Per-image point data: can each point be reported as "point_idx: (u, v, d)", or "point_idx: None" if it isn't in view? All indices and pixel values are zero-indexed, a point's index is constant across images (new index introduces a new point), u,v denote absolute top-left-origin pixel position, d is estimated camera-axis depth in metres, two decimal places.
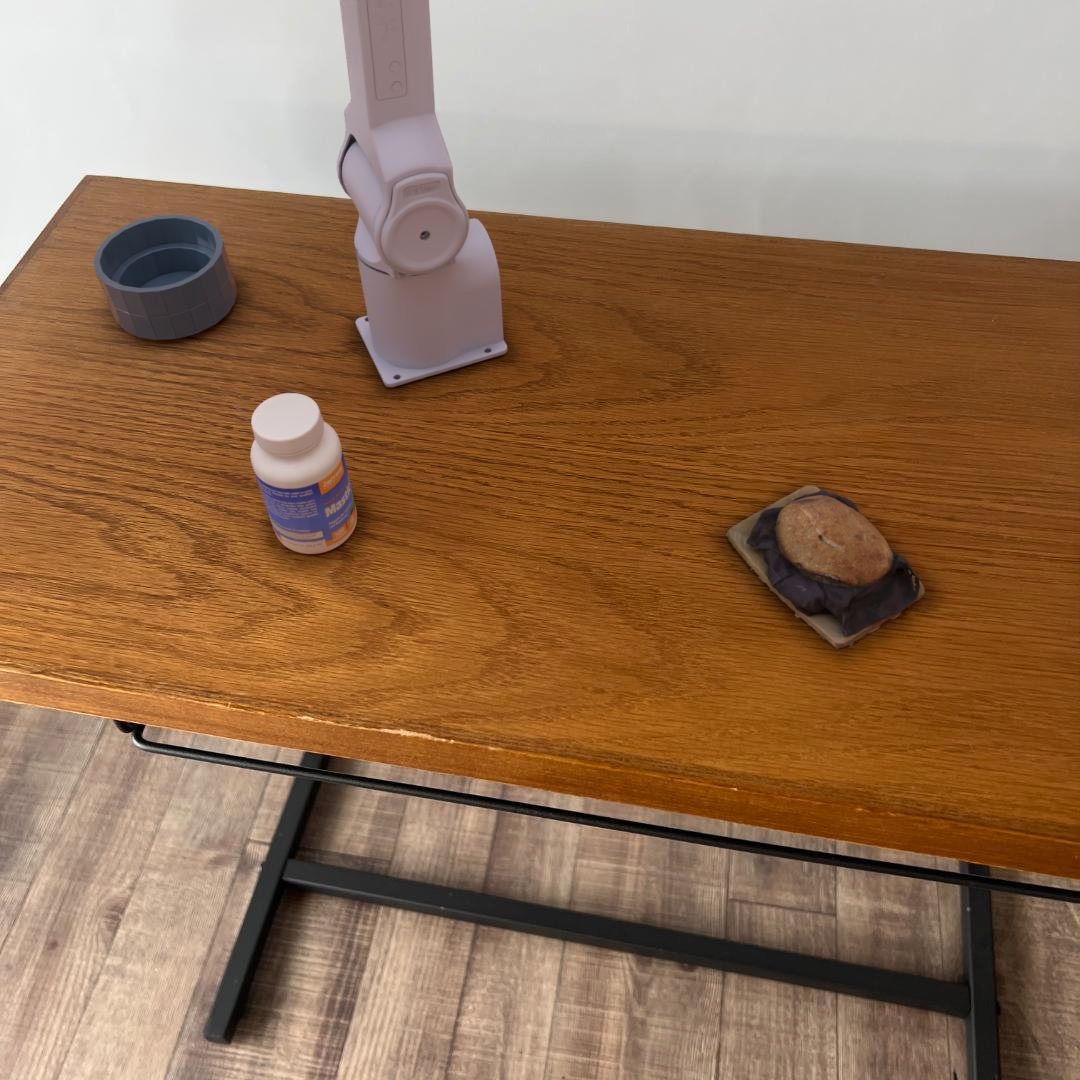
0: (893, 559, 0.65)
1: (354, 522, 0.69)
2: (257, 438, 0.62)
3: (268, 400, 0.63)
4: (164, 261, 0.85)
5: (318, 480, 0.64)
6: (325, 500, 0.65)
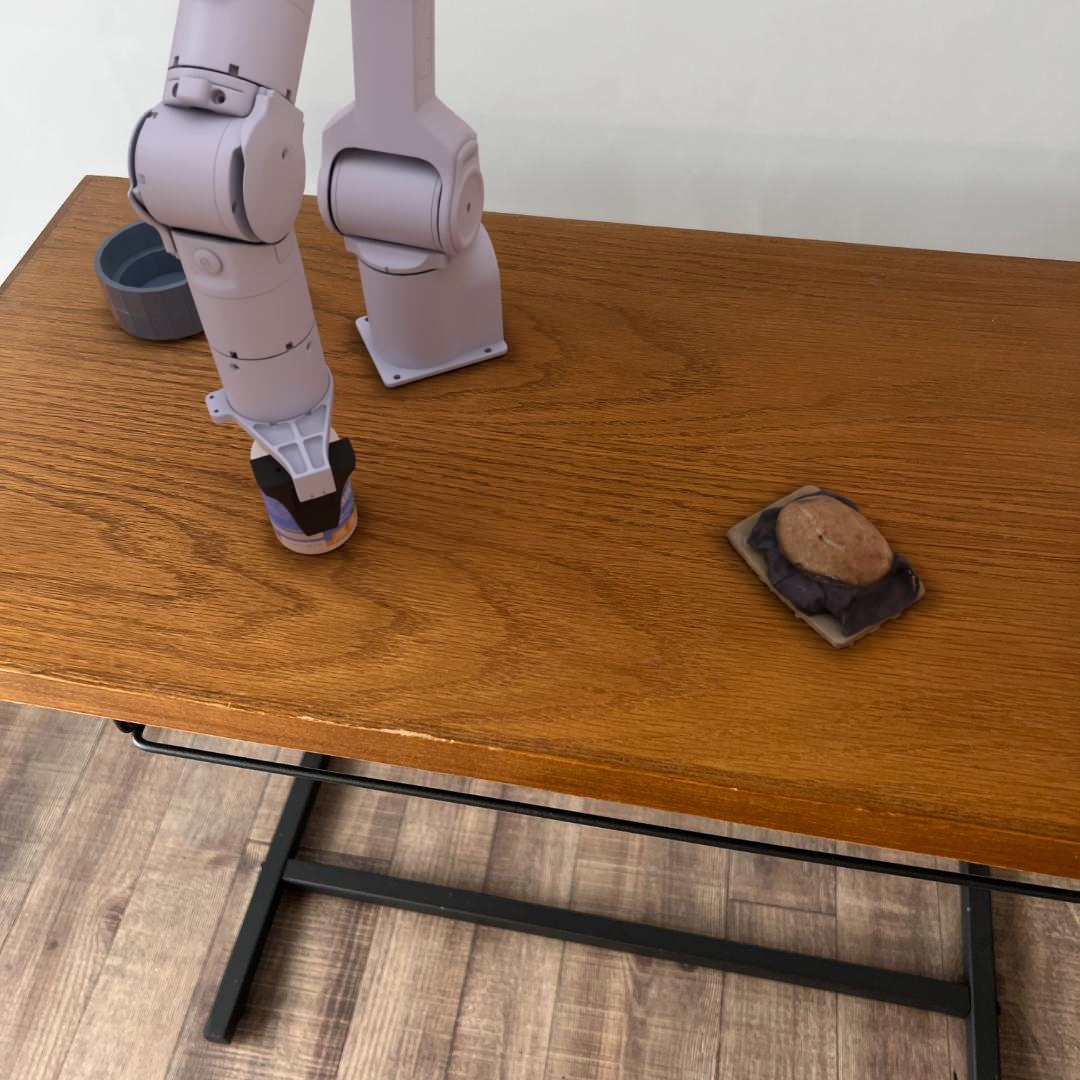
0: (893, 559, 0.65)
1: (354, 522, 0.69)
2: None
3: None
4: (164, 261, 0.85)
5: None
6: None
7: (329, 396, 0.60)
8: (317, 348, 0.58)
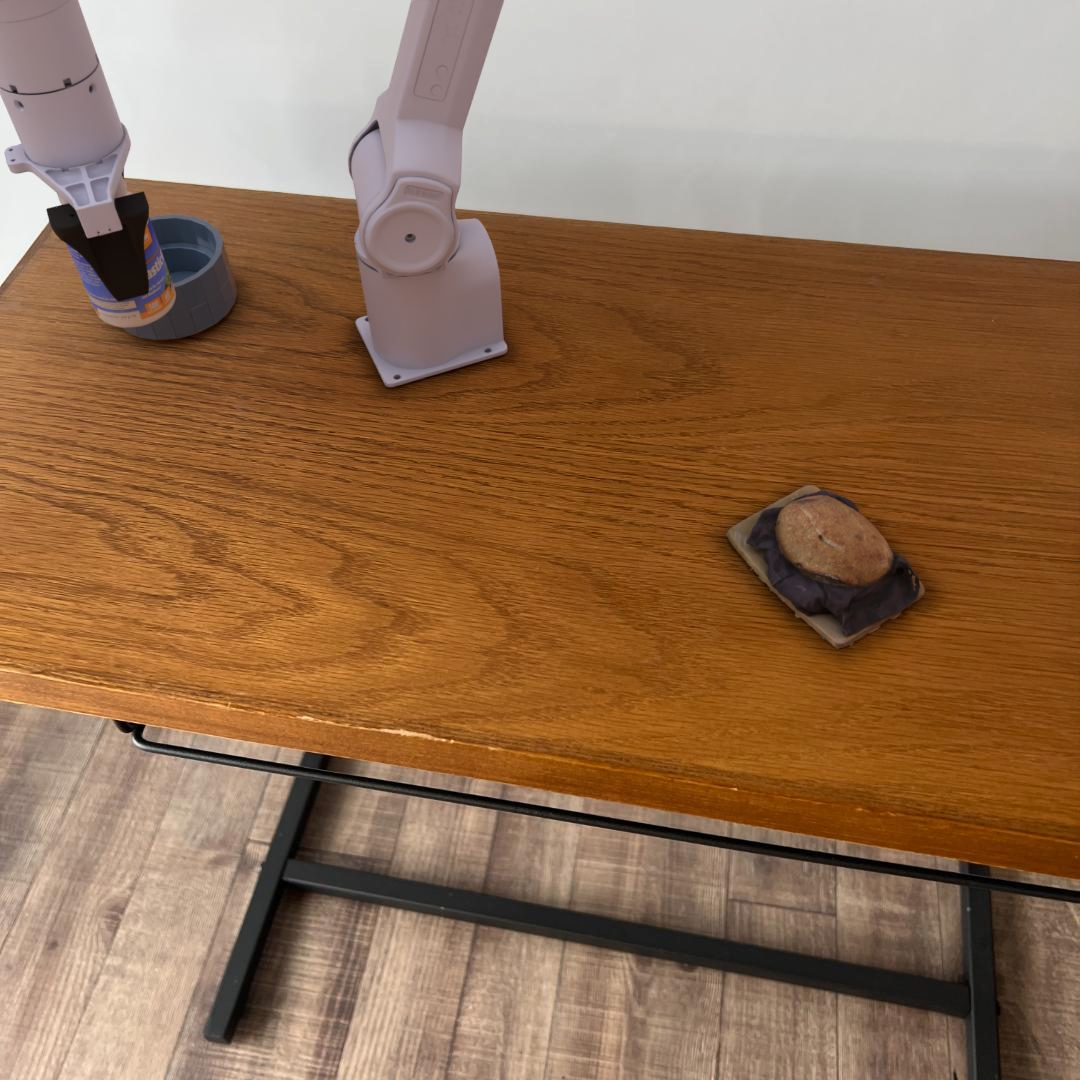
0: (893, 559, 0.65)
1: (171, 299, 0.72)
2: (59, 197, 0.66)
3: None
4: None
5: None
6: None
7: (121, 148, 0.63)
8: (102, 95, 0.61)
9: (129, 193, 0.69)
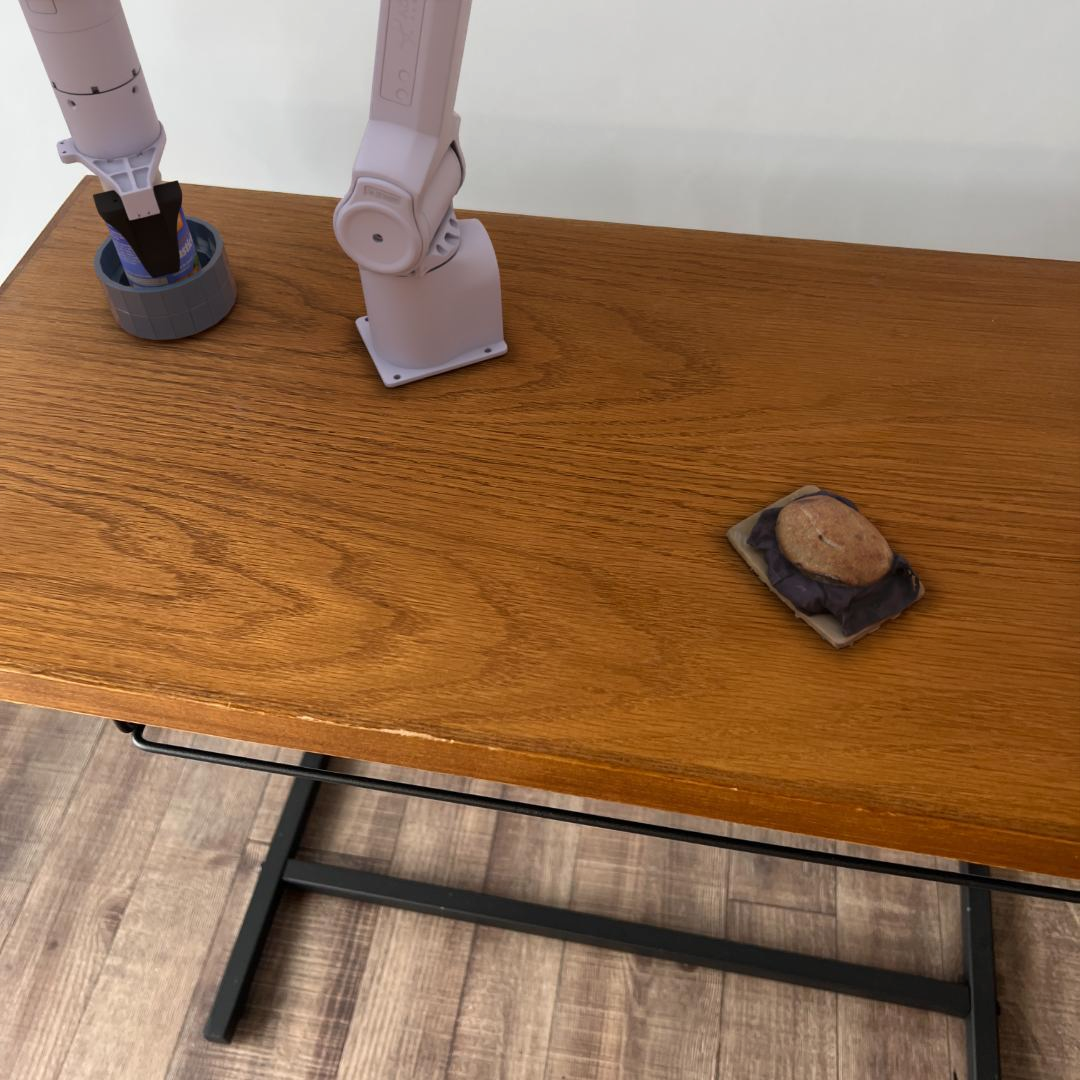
0: (893, 559, 0.65)
1: None
2: (103, 185, 0.75)
3: None
4: None
5: None
6: None
7: (159, 142, 0.72)
8: (143, 95, 0.70)
9: (163, 182, 0.78)
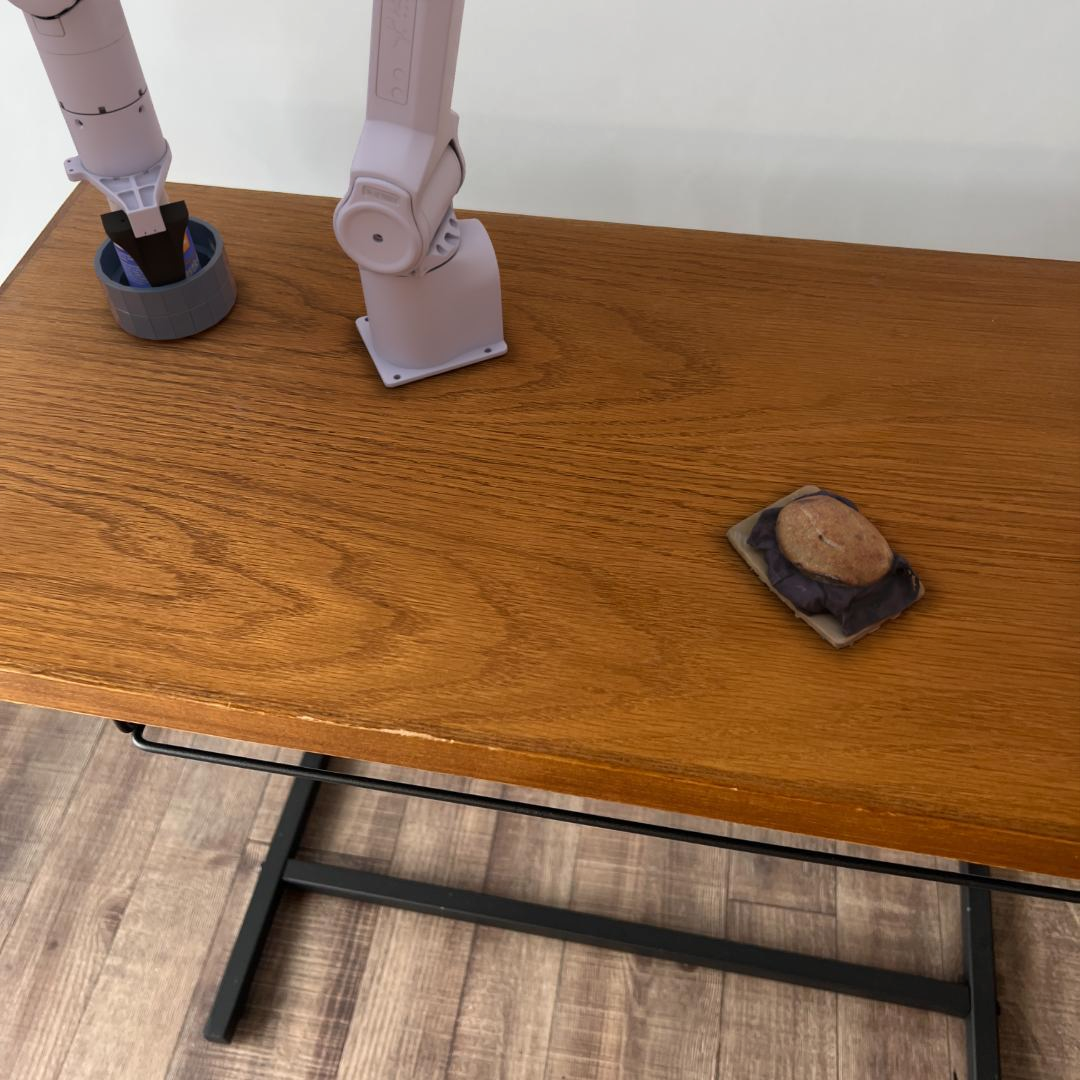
0: (893, 559, 0.65)
1: None
2: (111, 207, 0.76)
3: None
4: None
5: None
6: None
7: (164, 160, 0.73)
8: (149, 114, 0.71)
9: None
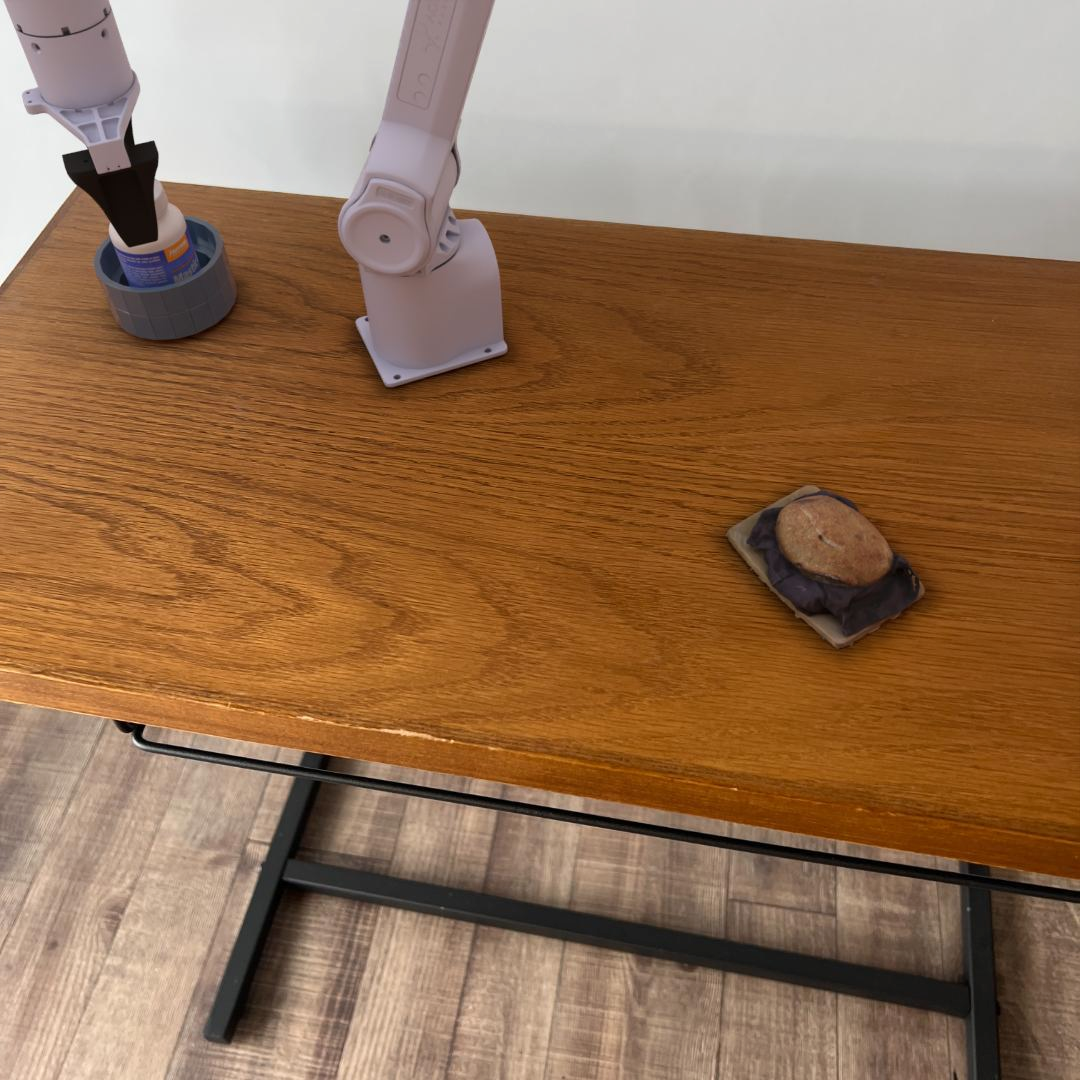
0: (893, 559, 0.65)
1: None
2: None
3: None
4: None
5: (164, 248, 0.77)
6: (172, 268, 0.79)
7: (131, 91, 0.68)
8: (114, 40, 0.66)
9: (169, 204, 0.79)
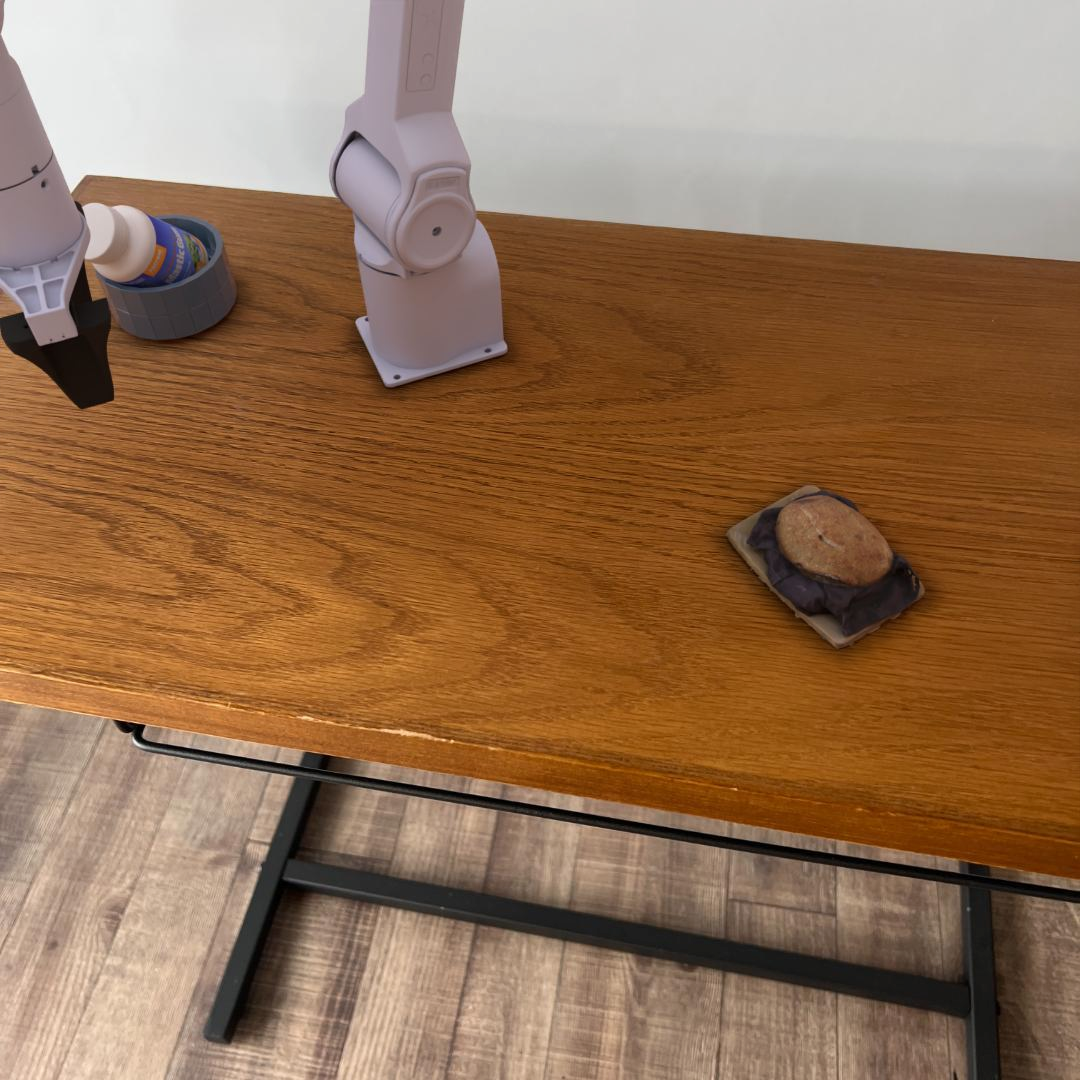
0: (893, 559, 0.65)
1: None
2: None
3: None
4: None
5: (142, 272, 0.77)
6: (160, 277, 0.79)
7: (79, 243, 0.58)
8: (57, 189, 0.56)
9: (131, 216, 0.76)
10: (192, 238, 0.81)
